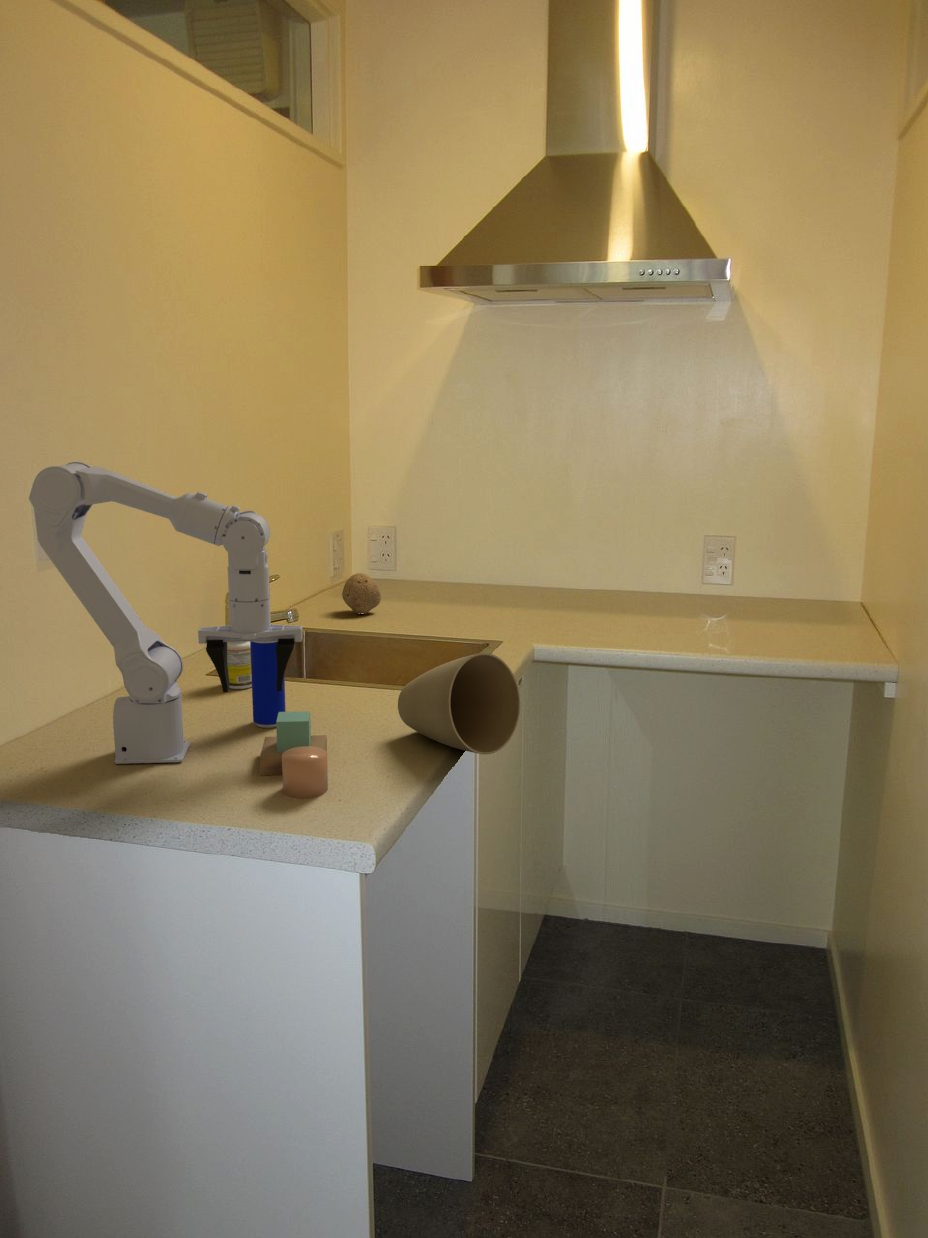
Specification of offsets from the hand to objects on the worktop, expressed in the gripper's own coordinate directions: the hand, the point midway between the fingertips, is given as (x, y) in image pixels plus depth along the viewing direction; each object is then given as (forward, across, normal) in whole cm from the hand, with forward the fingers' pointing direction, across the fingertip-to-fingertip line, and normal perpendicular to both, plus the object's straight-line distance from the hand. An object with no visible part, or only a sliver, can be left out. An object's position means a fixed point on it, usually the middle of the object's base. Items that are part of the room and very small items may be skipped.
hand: (253, 689), depth 147 cm
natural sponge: (+10, +16, +94) cm, 96 cm away
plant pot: (+6, +24, +10) cm, 26 cm away
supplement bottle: (+10, -6, +36) cm, 38 cm away
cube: (+7, +6, -4) cm, 10 cm away
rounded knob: (+10, +8, -14) cm, 19 cm away
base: (+10, +6, -4) cm, 12 cm away
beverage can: (+10, +1, +14) cm, 17 cm away
